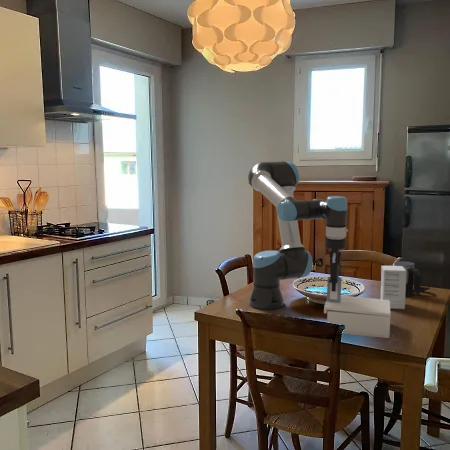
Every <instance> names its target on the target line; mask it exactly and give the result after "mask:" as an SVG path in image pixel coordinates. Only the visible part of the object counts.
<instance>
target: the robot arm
mask: <svg viewBox="0 0 450 450" xmlns="http://www.w3.org/2000/svg"><path fill="white" fill-rule="evenodd" d="M247 179H248V184H249V185H250V187H251V188H252V189H254V190H255V191H256V192H259V193H261V195H263V196H264V197H265V198H266V199H267V200H268V201H270V203H271V204H272V205H273V206H274V207H275V208H276V215H277V221H278V227H279V228H278V229H279V234H280V241H281V242H280V243H281V247H280V248H279V250H273V249H272V250H263V251H260V252H258V253H256V254H254V256H253V260H252V261H253V262H252V268H253V273H252V276H253V280H252V281H253V283H252V284H253V285H252V286H253V287H252V290H251V293H250V295H249V305H250V306H251V307H252V308H255V309H260V310H275V309H280V308H282V307H283V306H284V304H285V303H284V302H285V301H284V297H283V293H282V290H281V283H280V282H281V280H292V279H301V278H306V277H308V276H309V275H310V274H311V272H312V268H313V257H312V254H311V253H310V252H309V251H307V250H306V247H305V245H303V244H302V242H301V236H300V230H299V223H298V221H305V220H306V221H307V220H325V237H326V238H325V248H326V249H331V251H330V252H329V266H330V268H329V269H330V271H329V272H330V273H329V274H330V275H329V277H330V281H328V280H327V282H329V283H330V299H336V300H337V292H338V281H337V278H342V277H340V263H341V256H342V252H341V251H340V250H344V249H346V248H347V239H346V237H347V232H349V229H348V228H347V223H348V222H347V221H348V199H347V197H346V196H341V195H340V196H338V195H334V196H333V195H331V196H327V198H326V199H323V198H315V199H314V198H313V199H308V200H306V199H305V200H297V199H296V198H295V197H294V191H296V189H297V188H296V186H297V185H298V184H299V182H300V180H299V179H300V173H299V170H298V167H297V165H296V164H294V163H293V162H292V161H285V160H283V161H261V162H258V163H256V164H255V165H253V166H252V167H251V168H250V170H249V172H248V177H247Z"/></svg>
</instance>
